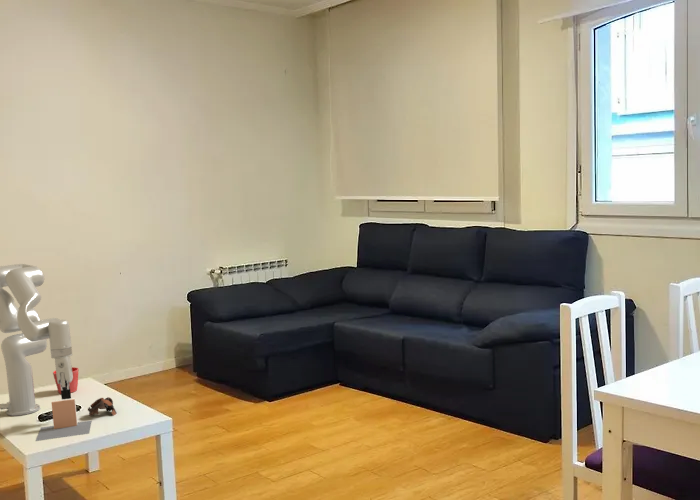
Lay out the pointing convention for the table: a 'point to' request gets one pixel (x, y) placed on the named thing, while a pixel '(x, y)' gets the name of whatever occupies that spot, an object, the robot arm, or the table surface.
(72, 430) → the mat
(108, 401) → the broken clay vessel
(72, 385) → the flower pot
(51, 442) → the table surface
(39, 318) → the robot arm
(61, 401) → the tile
